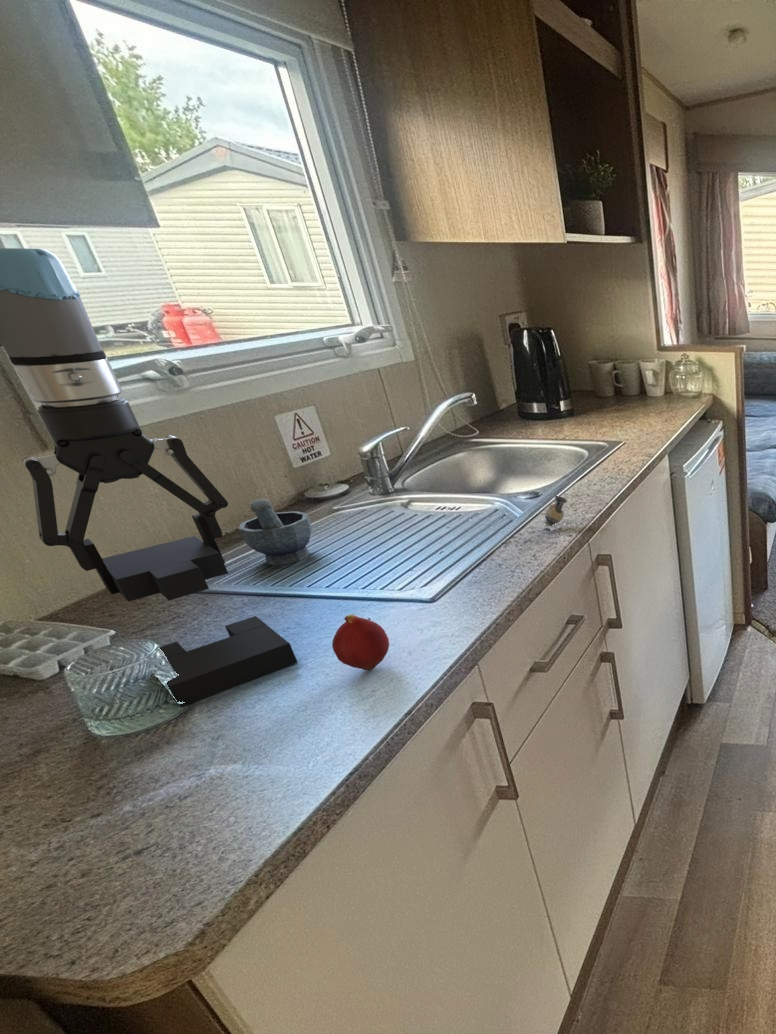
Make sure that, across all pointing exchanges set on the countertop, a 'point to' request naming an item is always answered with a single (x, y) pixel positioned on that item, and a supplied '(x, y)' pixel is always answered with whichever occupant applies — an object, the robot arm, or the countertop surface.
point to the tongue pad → (165, 569)
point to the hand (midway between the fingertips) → (168, 575)
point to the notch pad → (227, 660)
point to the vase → (555, 511)
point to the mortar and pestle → (277, 533)
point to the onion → (360, 643)
